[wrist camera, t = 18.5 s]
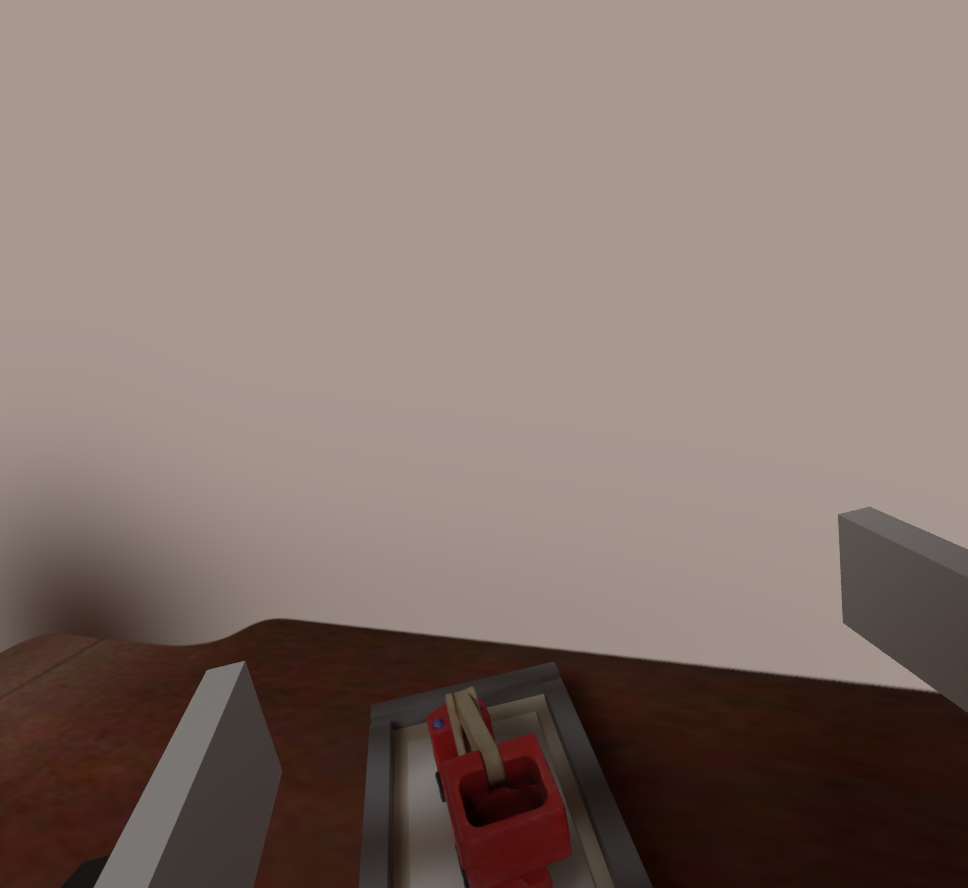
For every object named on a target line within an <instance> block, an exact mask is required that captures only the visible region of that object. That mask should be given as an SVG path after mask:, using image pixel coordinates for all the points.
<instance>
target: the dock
mask: <svg viewBox="0 0 968 888" xmlns="http://www.w3.org/2000/svg"><path fill="white" fill-rule="evenodd" d="M471 686H473V687H474V688H475V691H476V694H477V698H479V699H482V700H483V702H484V704H485V706H486V708H487V710H488V712H489V714H490V718H491V724H492V729H493V734H494V736H495V743H496V744H499V743H502V742H505V741H507V740H510V739H514V738H517V737H521V736H524V735H527V734H530V733H534V735H536V738H537V740H538V742H539V745H540V747H541V749H542V752H543V754H544V757H545V759H546V761H547V763H548V766H549V768H550V770H551V773H552V775H553V778H554V780H555V782H556V785H557V788H558V790H559V792H560V795H561V798H562V800H563V803H564V805H565V808H566V815H567V820H568V826H569V833H570V844H571V851H572V854H571V856H569V857H567V858H566V859H564V860H562V861H558V862H554V863H551V864H550V865H547V868H548V871H549V873H550V875H551V878H552V881H553V888H653V887H652V884H651V882H650V880H649V878H648V875H647V873H646V871H645V868H644V866H643V864H642V861H641V859H640V857H639V855H638V852H637V850H636V848H635V845H634V843H633V841H632V839H631V836H630V834H629V832H628V829H627V827H626V825H625V823H624V820H623V818H622V816H621V813H620V811H619V809H618V807H617V804H616V802H615V800H614V797H613V795H612V793H611V791H610V788H609V786H608V784H607V781H606V779H605V777H604V775H603V772H602V770H601V768H600V765H599V763H598V761H597V758H596V756H595V754H594V752H593V749H592V747H591V745H590V742H589V740H588V738H587V736H586V733H585V731H584V729H583V726H582V724H581V722H580V720H579V717H578V715H577V713H576V710H575V708H574V706H573V704H572V701H571V699H570V697H569V694H568V692H567V690H566V688H565V685H564V683H563V681H562V679H560V676H559V672H558V669H557V667H556V665H555V662H550V663H546V664H542V665H538V666H534V667H529V668H525V669H521V670H517V671H512V672H508V673H504V674H500V675H495V676H491V677H487V678H483V679H479V680H474V681H470V682H466V683H462V684H457V685H453V686H449V687H445V688H441V689H436V690H432V691H428V692H424V693H419V694H415V695H411V696H407V697H402V698H398V699H394V700H390V701H386V702H381V703H377V704H373V705H371V716H370V718H371V722H372V724H371V725H370V731H369V746H368V760H367V775H366V790H365V804H364V819H363V834H362V849H361V863H360V878H359V888H464V881H463V877H462V875H461V870H460V866H459V862H458V858H457V853H456V849H455V843H456V842H455V838H454V834H453V828H452V823H451V819H450V815H449V811H448V807H447V802H442V800H441V798H440V794H439V790H438V786H437V782H436V778H435V773H436V772H437V771H438V770H437V766H436V762H435V759H434V755H433V747H432V744H431V739H430V735H429V731H428V726H427V717H428V716H429V715H430V714H431V713H432V712H433V711H435V710H436V709H437V708H439V707H440V706H442V705H444V704H446V700H445V695H446V694H449V693H456V692H459V691H462V690H464V689H467V688H469V687H471Z"/></svg>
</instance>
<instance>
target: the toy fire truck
mask: <svg viewBox="0 0 968 888" xmlns="http://www.w3.org/2000/svg"><path fill="white" fill-rule="evenodd" d="M445 700H446V704H444V705H442V706H440V707H439V708H437V709H436V710H435V711H433V712H432V713H431V714H430V715H429V716H428V717H427V726H428V731H429V735H430V739H431V744H432V747H433V755H434V759H435V762H436V766H437V770H438V771H437V772H436V773H435V778H436V782H437V786H438V790H439V794H440V798H441V800H442V802H447V807H448V811H449V815H450V819H451V823H452V828H453V834H454V838H455V842H456V843H455V849H456V853H457V858H458V862H459V866H460V870H461V875H462V877H463V881H464V888H553V881H552V878H551V875H550V873H549V871H548V868H547V865H550V864H551V863H554V862H558V861H562V860H564V859H566V858H567V857H569V856H571V854H572V851H571V844H570V833H569V826H568V820H567V815H566V808H565V805H564V803H563V800H562V798H561V795H560V792H559V790H558V788H557V785H556V782H555V780H554V778H553V775H552V773H551V770H550V768H549V766H548V763H547V761H546V759H545V757H544V754H543V752H542V749H541V747H540V745H539V742H538V740H537V738H536V735H534V733H530V734H527V735H524V736H521V737H517V738H514V739H510V740H507V741H505V742H502V743H499V744H496V743H495V736H494V734H493V729H492V724H491V718H490V714H489V712H488V710H487V708H486V706H485V704H484V702H483V700H482V699H479V698H477V694H476V691H475V688H474V687H473V686H471V687H469V688H467V689H464V690H462V691H459V692H456V693H449V694H446V695H445Z"/></svg>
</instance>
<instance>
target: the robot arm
mask: <svg viewBox="0 0 968 888" xmlns="http://www.w3.org/2000/svg"><path fill="white" fill-rule="evenodd" d="M838 523H839V544H840V566H841V586H842V588H841V589H842V610H843V623H844V624H845V625H847V626H848V627H850V628H851V629H852V630H854V631H855V632H856V633H858V634H859V635H861V636H862V637H863V638H865V639H866V640H868V641H869V642H870V643H872V644H873V645H874V646H876V647H877V648H879V649H880V650H882V651H883V652H884V653H885V654H887V655H888V656H890V657H891V658H892V659H894V660H895V661H897V662H898V663H899V664H901V665H903V666H904V667H905V668H906V669H908V670H909V671H911V672H912V673H913V674H915V675H916V676H917V677H919V678H920V679H921V680H923V681H924V682H926V683H927V684H928V685H930V686H931V687H933V688H934V689H935V690H937V691H938V692H939V693H941V694H942V695H944V696H945V697H946V698H948V699H949V700H951V701H952V702H953V703H955V704H956V705H957V706H959V707H960V708H962V709H963V710H964V711H966V712H967V713H968V549H965V548H963V547H961V546H959V545H956V544H953V543H951V542H949V541H947V540H945V539H942V538H940V537H938V536H936V535H933V534H931V533H929V532H926V531H924V530H922V529H919V528H917V527H915V526H912V525H910V524H908V523H906V522H903V521H901V520H899V519H896V518H894V517H892V516H890V515H887V514H885V513H883V512H880V511H878V510H876V509H873V508H871V507H867V508H863V509H859V510H855V511H851V512H847V513H843V514H839V515H838ZM281 773H282V769H281V766H280V763H279V760H278V757H277V754H276V751H275V748H274V745H273V742H272V739H271V736H270V734H269V731H268V728H267V725H266V722H265V719H264V716H263V713H262V710H261V707H260V704H259V701H258V698H257V695H256V692H255V689H254V686H253V683H252V680H251V677H250V674H249V671H248V668H247V665H246V662H245V661H243V662H239V663H235V664H230V665H226V666H222V667H218V668H214V669H210V670H207V671H206V673H205V675H204V677H203V679H202V681H201V683H200V685H199V687H198V689H197V690H196V692H195V694H194V696H193V698H192V700H191V702H190V704H189V706H188V708H187V710H186V712H185V713H184V715H183V717H182V719H181V721H180V723H179V725H178V727H177V729H176V731H175V733H174V735H173V737H172V738H171V740H170V742H169V744H168V746H167V748H166V750H165V752H164V754H163V756H162V758H161V760H160V761H159V763H158V765H157V767H156V769H155V771H154V773H153V775H152V777H151V779H150V781H149V783H148V784H147V786H146V788H145V790H144V792H143V794H142V796H141V798H140V800H139V802H138V804H137V806H136V808H135V809H134V811H133V813H132V815H131V817H130V819H129V821H128V823H127V825H126V827H125V829H124V831H123V832H122V834H121V836H120V838H119V840H118V842H117V844H116V846H115V848H114V850H113V852H112V854H111V855H109V856H105V857H102V858H98V859H94V860H90V861H87V862H83V864H82V865H81V866H80V867H79V868H78V869H77V870H76V871H75V872H74V873H73V875H72V876H71V877H70V878H69V879H68V880H67V881H66V882H65V883H64V884H63V886H62V887H61V888H253V885H254V881H255V877H256V873H257V869H258V865H259V861H260V857H261V853H262V849H263V845H264V841H265V837H266V833H267V829H268V825H269V821H270V817H271V813H272V809H273V805H274V801H275V797H276V793H277V789H278V785H279V781H280V777H281Z"/></svg>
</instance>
